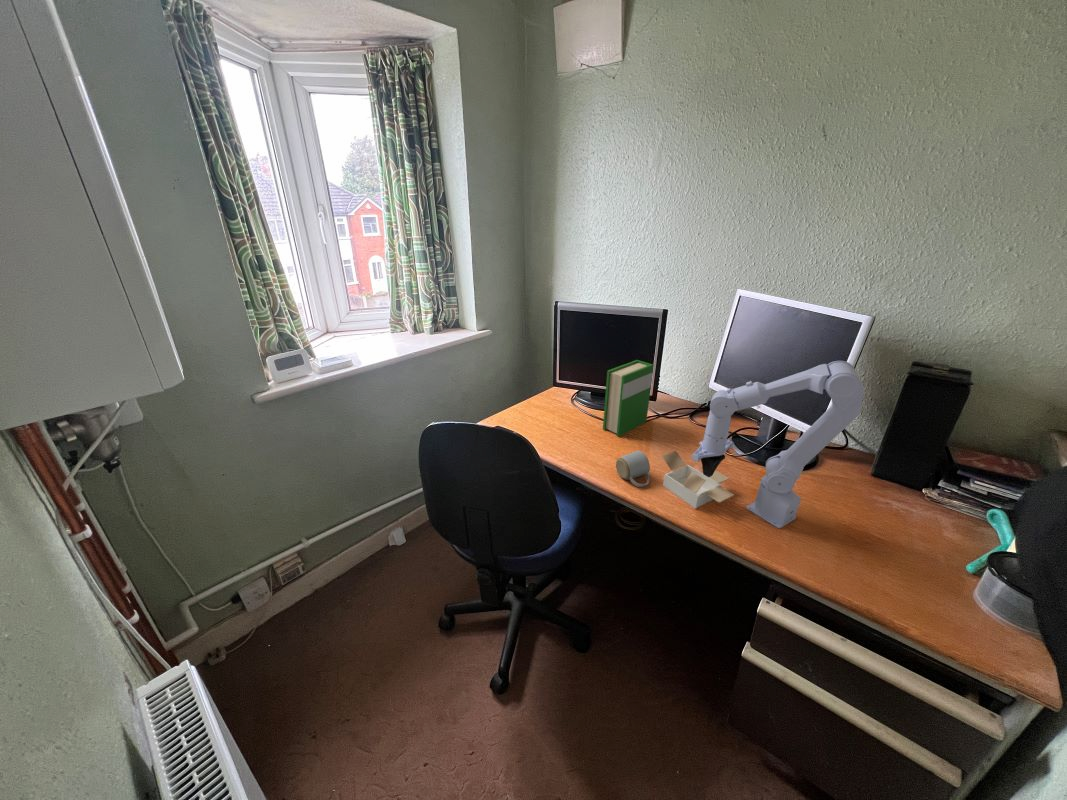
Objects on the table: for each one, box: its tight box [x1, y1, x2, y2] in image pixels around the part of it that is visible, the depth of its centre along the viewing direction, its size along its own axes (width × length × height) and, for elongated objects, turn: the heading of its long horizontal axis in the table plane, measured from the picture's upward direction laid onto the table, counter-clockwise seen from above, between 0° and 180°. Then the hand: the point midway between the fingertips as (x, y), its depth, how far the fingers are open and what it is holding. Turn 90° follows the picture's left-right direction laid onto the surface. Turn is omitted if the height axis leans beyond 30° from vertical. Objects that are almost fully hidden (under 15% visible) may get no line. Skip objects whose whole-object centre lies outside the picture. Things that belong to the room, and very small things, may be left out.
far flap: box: [661, 450, 686, 471], centre depth 123 cm, size 5×6×1 cm
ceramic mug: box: [615, 450, 651, 488], centre depth 123 cm, size 11×8×8 cm
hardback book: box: [602, 359, 655, 438], centre depth 150 cm, size 18×7×24 cm, turn 131°
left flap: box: [682, 472, 706, 493], centre depth 112 cm, size 4×4×1 cm
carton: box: [662, 464, 734, 510], centre depth 117 cm, size 16×15×4 cm
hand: (707, 475), depth 115 cm, fingers closed
